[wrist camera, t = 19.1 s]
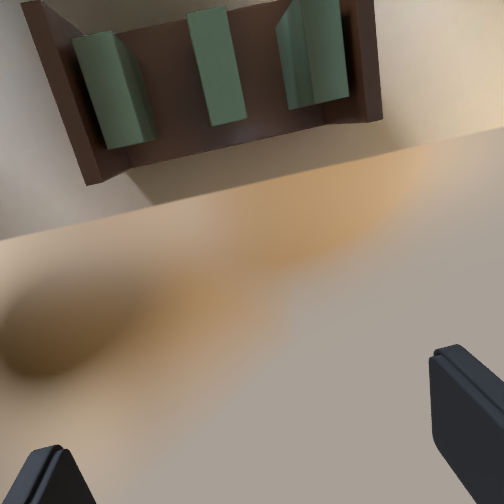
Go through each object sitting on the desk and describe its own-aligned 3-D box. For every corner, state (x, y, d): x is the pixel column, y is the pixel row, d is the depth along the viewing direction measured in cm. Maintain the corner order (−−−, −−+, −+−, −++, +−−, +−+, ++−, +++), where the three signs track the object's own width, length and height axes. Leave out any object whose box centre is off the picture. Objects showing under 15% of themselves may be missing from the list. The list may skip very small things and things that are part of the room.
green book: (220, 38, 32) (225, 4, 23) (238, 121, 34) (247, 117, 26) (191, 44, 32) (185, 12, 23) (211, 127, 34) (211, 125, 26)
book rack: (317, -5, 33) (368, -69, 22) (333, 122, 36) (383, 119, 26) (82, 44, 32) (19, 2, 21) (122, 169, 36) (86, 186, 25)
